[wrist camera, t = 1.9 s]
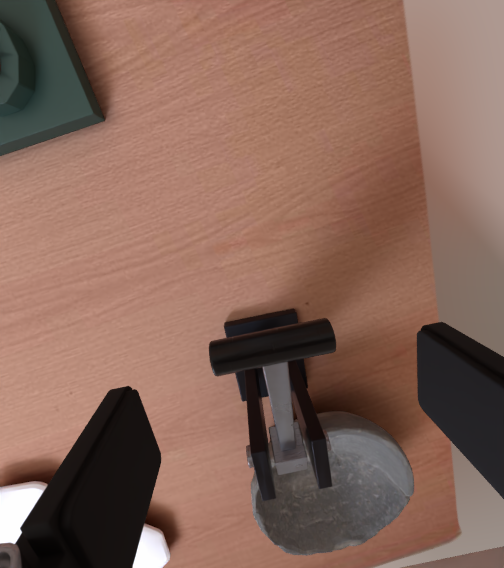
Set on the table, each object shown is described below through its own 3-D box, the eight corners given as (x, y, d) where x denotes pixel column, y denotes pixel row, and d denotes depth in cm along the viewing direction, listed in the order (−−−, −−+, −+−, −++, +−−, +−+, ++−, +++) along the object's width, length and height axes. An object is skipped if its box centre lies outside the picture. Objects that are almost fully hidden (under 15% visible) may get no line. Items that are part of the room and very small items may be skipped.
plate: (17, 455, 35) (3, 472, 32) (187, 526, 40) (185, 545, 38) (-58, 570, 40) (-75, 591, 37) (103, 619, 45) (97, 640, 43)
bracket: (224, 322, 31) (217, 425, 17) (294, 308, 31) (345, 398, 17) (241, 395, 34) (248, 533, 20) (305, 382, 34) (357, 510, 20)
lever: (207, 325, 12) (209, 376, 10) (321, 302, 12) (342, 349, 10) (254, 443, 22) (259, 479, 20) (316, 431, 22) (326, 465, 20)
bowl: (393, 385, 35) (438, 437, 28) (366, 488, 40) (397, 556, 33) (253, 381, 34) (259, 435, 26) (242, 489, 39) (245, 561, 31)
